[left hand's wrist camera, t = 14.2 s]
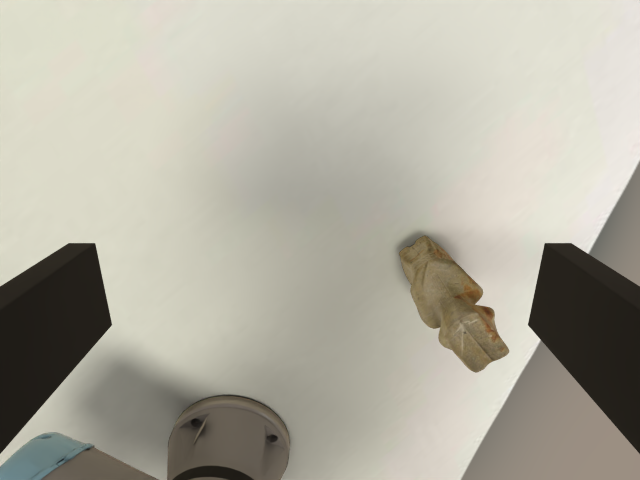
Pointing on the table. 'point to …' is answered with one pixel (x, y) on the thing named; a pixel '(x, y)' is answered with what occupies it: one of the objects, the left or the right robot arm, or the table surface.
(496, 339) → the sculpture
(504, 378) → the table surface
